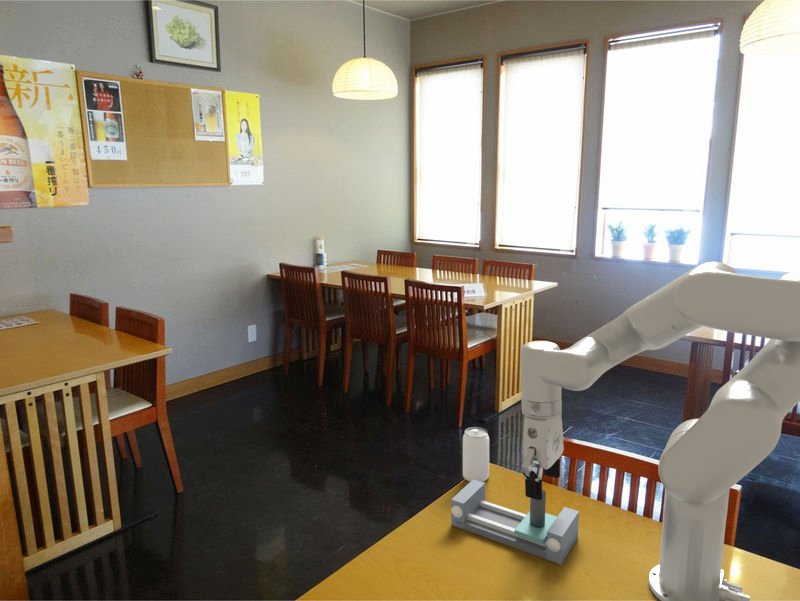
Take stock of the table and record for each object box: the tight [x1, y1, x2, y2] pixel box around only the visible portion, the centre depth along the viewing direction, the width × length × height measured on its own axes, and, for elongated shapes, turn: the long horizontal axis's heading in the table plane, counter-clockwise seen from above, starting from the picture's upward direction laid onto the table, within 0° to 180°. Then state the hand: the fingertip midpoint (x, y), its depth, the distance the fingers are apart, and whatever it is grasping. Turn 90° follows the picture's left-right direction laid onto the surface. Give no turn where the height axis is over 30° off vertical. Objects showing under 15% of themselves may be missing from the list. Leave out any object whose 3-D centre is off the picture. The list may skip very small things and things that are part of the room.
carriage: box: [514, 488, 558, 544], centre depth 114 cm, size 6×9×8 cm, turn 145°
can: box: [462, 426, 490, 483], centre depth 140 cm, size 6×6×12 cm
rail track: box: [450, 479, 580, 566], centre depth 118 cm, size 24×10×6 cm, turn 55°
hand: (543, 486), depth 113 cm, fingers open, 9 cm apart
